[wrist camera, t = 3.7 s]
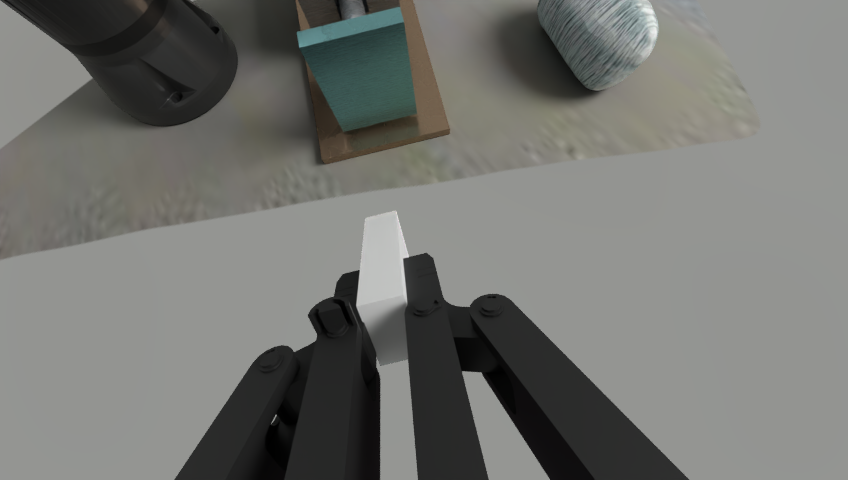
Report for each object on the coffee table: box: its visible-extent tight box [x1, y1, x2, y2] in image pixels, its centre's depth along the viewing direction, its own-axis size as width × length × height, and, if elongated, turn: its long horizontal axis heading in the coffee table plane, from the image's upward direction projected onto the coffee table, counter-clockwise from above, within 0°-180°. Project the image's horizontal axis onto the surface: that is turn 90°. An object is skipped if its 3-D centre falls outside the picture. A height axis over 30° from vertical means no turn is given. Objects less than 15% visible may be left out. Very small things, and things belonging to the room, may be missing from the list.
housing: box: [296, 0, 450, 164], centre depth 36 cm, size 27×14×9 cm, turn 13°
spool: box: [537, 0, 659, 91], centre depth 35 cm, size 14×10×10 cm
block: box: [297, 0, 417, 132], centre depth 32 cm, size 14×8×11 cm, turn 13°
